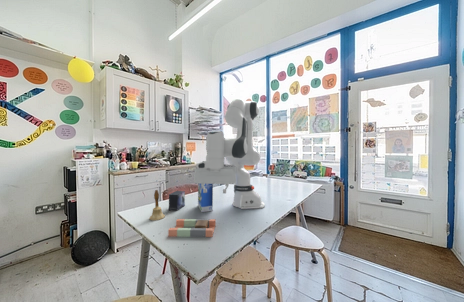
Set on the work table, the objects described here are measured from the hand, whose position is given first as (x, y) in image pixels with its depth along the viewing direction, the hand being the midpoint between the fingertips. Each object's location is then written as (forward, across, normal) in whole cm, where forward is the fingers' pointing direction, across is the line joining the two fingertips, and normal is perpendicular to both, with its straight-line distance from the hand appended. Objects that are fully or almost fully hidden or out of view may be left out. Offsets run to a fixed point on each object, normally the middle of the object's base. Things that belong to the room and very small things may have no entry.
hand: (214, 192), depth 83 cm
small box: (+19, +30, -31) cm, 47 cm away
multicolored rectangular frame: (+18, +10, 0) cm, 21 cm away
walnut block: (+19, +6, 0) cm, 20 cm away
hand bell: (+19, +36, -14) cm, 43 cm away
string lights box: (+18, +11, -31) cm, 38 cm away
